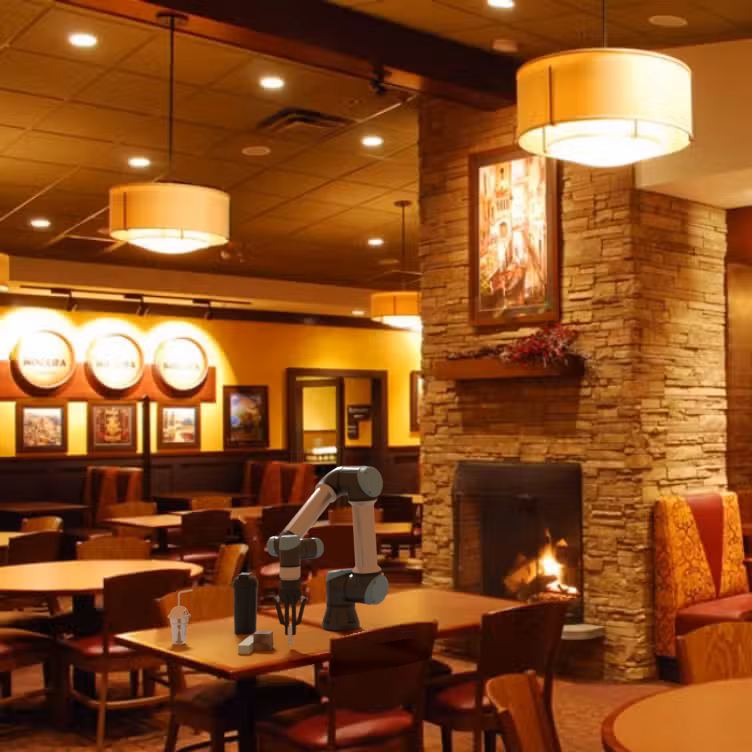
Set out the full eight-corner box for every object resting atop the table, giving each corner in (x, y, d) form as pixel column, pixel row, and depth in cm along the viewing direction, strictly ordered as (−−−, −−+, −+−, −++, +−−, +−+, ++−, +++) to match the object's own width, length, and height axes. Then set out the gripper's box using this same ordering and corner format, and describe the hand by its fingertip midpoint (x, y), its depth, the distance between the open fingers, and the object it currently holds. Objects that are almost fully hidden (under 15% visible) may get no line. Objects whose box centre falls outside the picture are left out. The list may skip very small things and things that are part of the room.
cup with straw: (176, 640, 421) (177, 586, 422) (196, 642, 417) (196, 588, 418) (162, 644, 413) (162, 589, 414) (182, 646, 409) (182, 591, 410)
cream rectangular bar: (260, 643, 414) (260, 635, 414) (249, 654, 394) (249, 645, 394) (250, 643, 414) (250, 635, 414) (238, 653, 394) (238, 645, 395)
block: (273, 647, 406) (273, 631, 406) (269, 650, 400) (269, 634, 400) (256, 647, 407) (256, 630, 407) (253, 650, 401) (253, 633, 401)
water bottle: (260, 630, 441) (260, 571, 442) (255, 635, 431) (255, 574, 432) (235, 630, 442) (235, 571, 443) (229, 634, 432) (229, 574, 433)
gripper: (309, 577, 407) (310, 642, 406) (274, 576, 408) (274, 642, 407) (306, 579, 399) (306, 646, 398) (270, 579, 401) (270, 646, 400)
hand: (290, 644), depth 403 cm, fingers closed
